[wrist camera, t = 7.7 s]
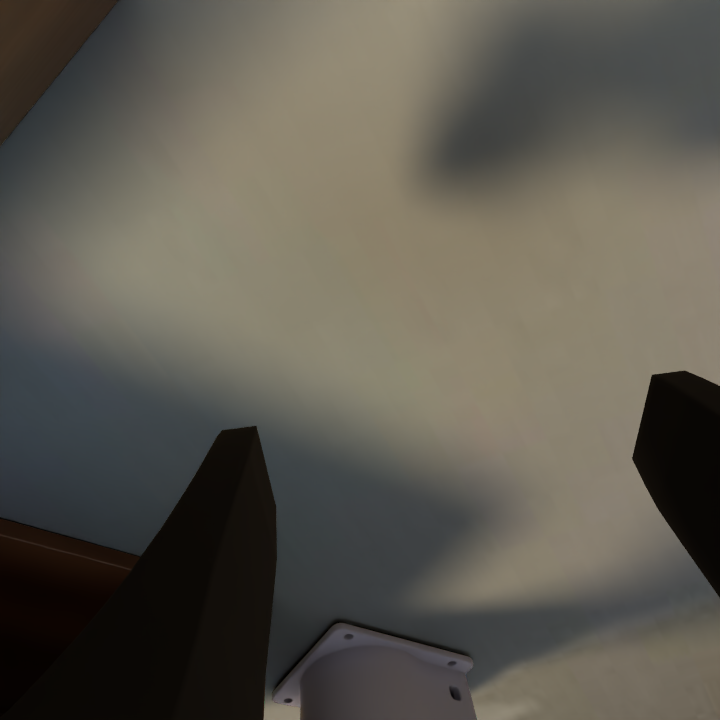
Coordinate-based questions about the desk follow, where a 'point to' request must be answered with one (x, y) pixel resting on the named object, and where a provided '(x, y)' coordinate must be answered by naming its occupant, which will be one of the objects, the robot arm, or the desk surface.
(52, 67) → the cupboard door
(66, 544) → the cupboard
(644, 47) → the desk surface
